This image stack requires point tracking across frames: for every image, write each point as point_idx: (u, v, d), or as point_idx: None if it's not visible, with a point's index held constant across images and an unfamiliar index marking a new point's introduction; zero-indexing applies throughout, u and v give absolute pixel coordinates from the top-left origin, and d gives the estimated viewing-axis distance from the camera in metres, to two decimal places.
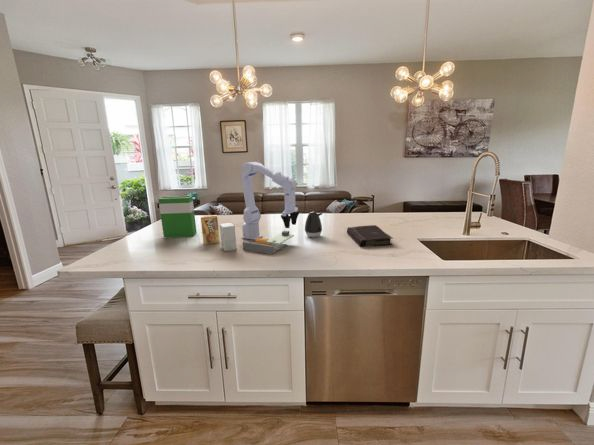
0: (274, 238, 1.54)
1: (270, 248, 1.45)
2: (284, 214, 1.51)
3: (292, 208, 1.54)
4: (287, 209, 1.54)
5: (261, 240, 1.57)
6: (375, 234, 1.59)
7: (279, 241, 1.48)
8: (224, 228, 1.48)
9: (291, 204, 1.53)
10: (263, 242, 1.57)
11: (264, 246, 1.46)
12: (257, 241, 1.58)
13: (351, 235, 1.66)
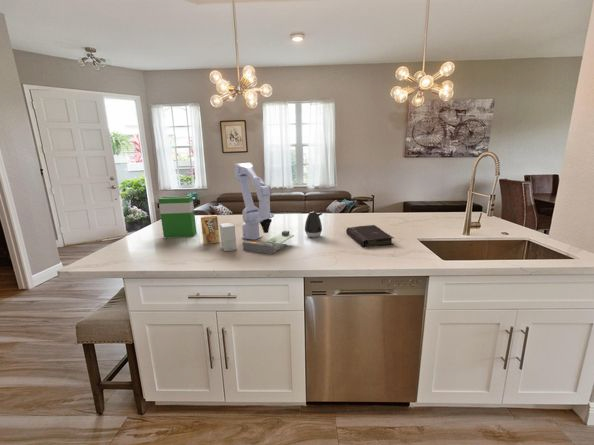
0: (274, 238, 1.54)
1: (270, 248, 1.45)
2: (258, 221, 1.50)
3: (266, 215, 1.54)
4: (262, 216, 1.54)
5: None
6: (376, 234, 1.59)
7: (279, 241, 1.48)
8: (224, 228, 1.48)
9: (265, 211, 1.53)
10: None
11: (264, 246, 1.46)
12: None
13: (351, 235, 1.66)
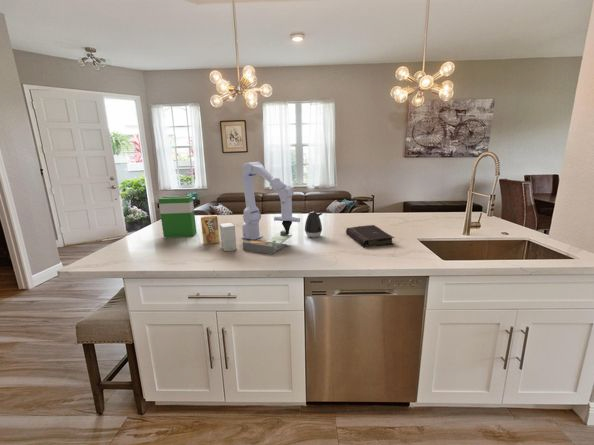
0: (273, 238, 1.54)
1: (270, 248, 1.45)
2: None
3: (282, 216, 1.55)
4: None
5: None
6: (377, 234, 1.59)
7: (279, 241, 1.48)
8: (224, 228, 1.48)
9: (281, 212, 1.55)
10: None
11: (264, 246, 1.46)
12: None
13: (351, 235, 1.66)
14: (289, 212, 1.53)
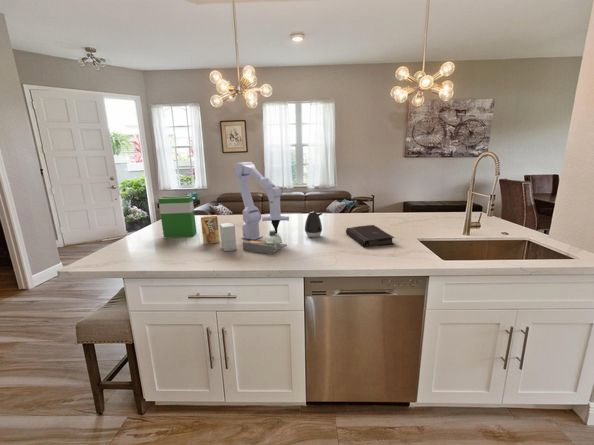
0: (268, 239, 1.53)
1: (270, 248, 1.45)
2: (262, 219, 1.58)
3: (271, 215, 1.56)
4: None
5: None
6: (377, 234, 1.59)
7: (279, 240, 1.50)
8: (224, 228, 1.48)
9: (271, 211, 1.56)
10: None
11: (264, 246, 1.46)
12: None
13: (352, 236, 1.65)
14: (279, 211, 1.56)
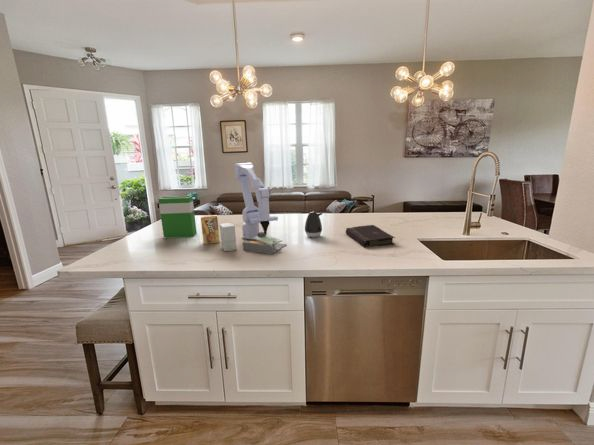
0: (265, 240, 1.51)
1: (270, 248, 1.45)
2: (251, 221, 1.54)
3: (262, 217, 1.54)
4: (259, 217, 1.56)
5: None
6: (377, 234, 1.59)
7: (278, 239, 1.51)
8: (224, 228, 1.48)
9: (261, 213, 1.53)
10: None
11: (264, 246, 1.46)
12: None
13: (352, 236, 1.65)
14: (268, 212, 1.55)
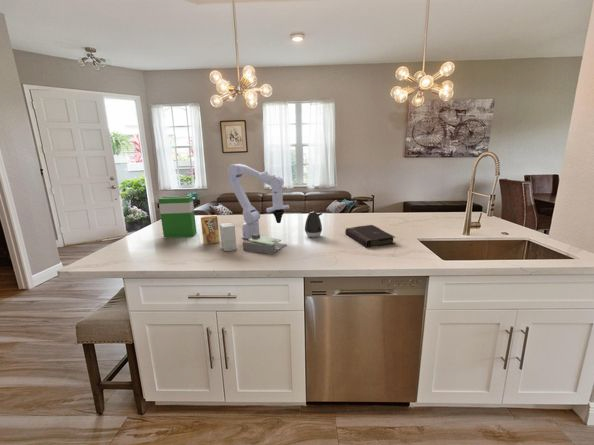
0: (264, 241, 1.49)
1: (270, 248, 1.45)
2: (267, 210, 1.59)
3: (277, 205, 1.61)
4: (273, 206, 1.62)
5: None
6: (378, 234, 1.59)
7: (276, 239, 1.52)
8: (224, 228, 1.48)
9: (276, 201, 1.60)
10: None
11: (264, 246, 1.46)
12: None
13: (352, 236, 1.65)
14: (282, 200, 1.63)
